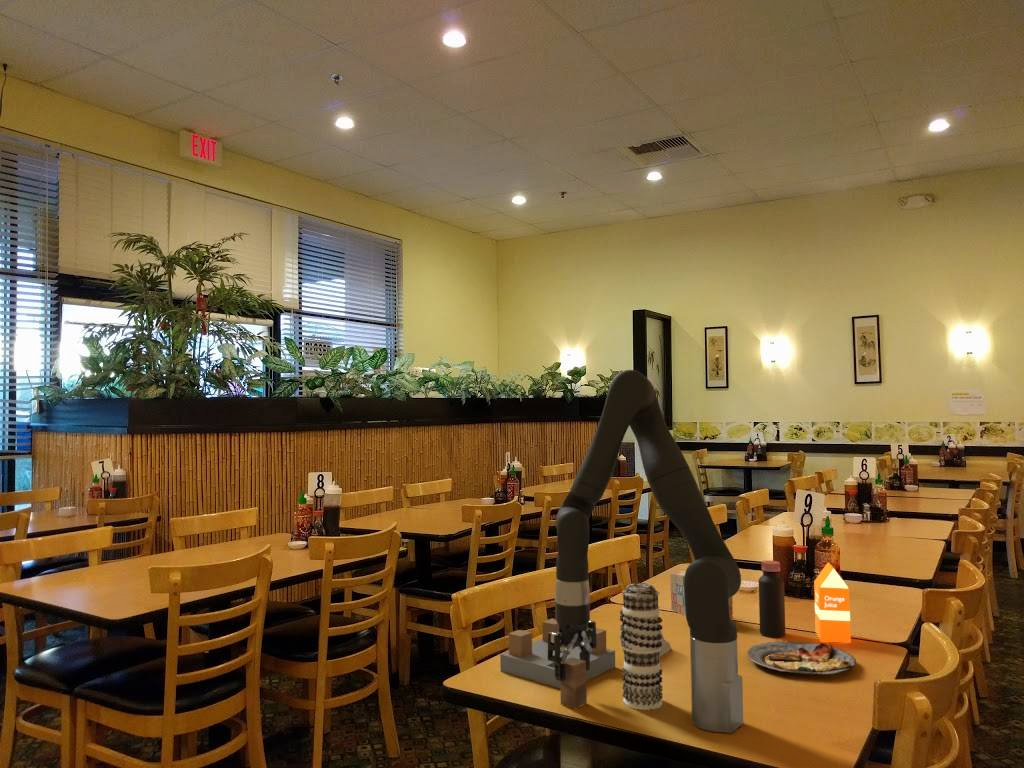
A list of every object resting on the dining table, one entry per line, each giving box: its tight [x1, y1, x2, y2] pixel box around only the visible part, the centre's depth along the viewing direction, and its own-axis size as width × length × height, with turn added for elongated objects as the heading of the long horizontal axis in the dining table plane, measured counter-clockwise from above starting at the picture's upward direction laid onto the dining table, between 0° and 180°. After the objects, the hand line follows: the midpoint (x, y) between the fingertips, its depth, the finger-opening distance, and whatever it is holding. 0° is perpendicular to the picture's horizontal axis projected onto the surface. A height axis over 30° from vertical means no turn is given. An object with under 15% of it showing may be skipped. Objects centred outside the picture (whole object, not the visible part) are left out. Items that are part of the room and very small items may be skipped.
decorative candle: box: [619, 582, 664, 711], centre depth 162 cm, size 9×9×25 cm
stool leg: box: [560, 657, 588, 709], centre depth 161 cm, size 4×4×9 cm
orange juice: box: [813, 561, 852, 644], centre depth 205 cm, size 8×9×20 cm
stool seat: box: [499, 617, 616, 690], centre depth 183 cm, size 20×20×9 cm
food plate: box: [747, 640, 857, 676], centre depth 185 cm, size 25×23×4 cm
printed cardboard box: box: [669, 570, 734, 622], centre depth 227 cm, size 21×6×12 cm, turn 25°
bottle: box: [758, 560, 786, 639], centre depth 209 cm, size 7×7×20 cm
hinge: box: [619, 630, 672, 658], centre depth 193 cm, size 17×5×10 cm, turn 144°
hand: (572, 674), depth 162 cm, fingers open, 8 cm apart
